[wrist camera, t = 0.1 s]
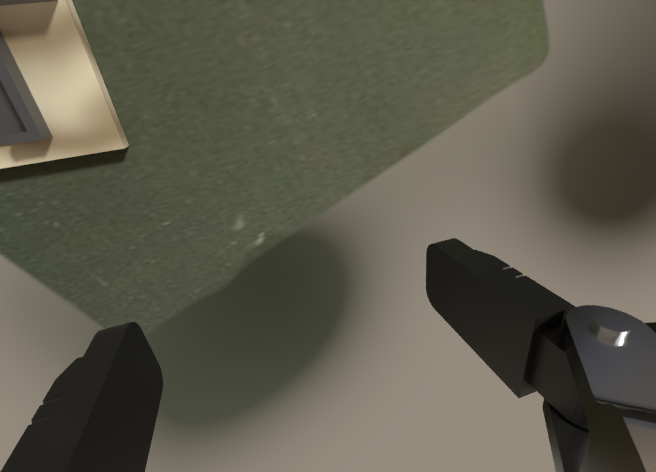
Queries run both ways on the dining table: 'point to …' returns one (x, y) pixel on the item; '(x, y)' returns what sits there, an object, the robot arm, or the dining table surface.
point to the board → (58, 83)
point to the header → (17, 104)
